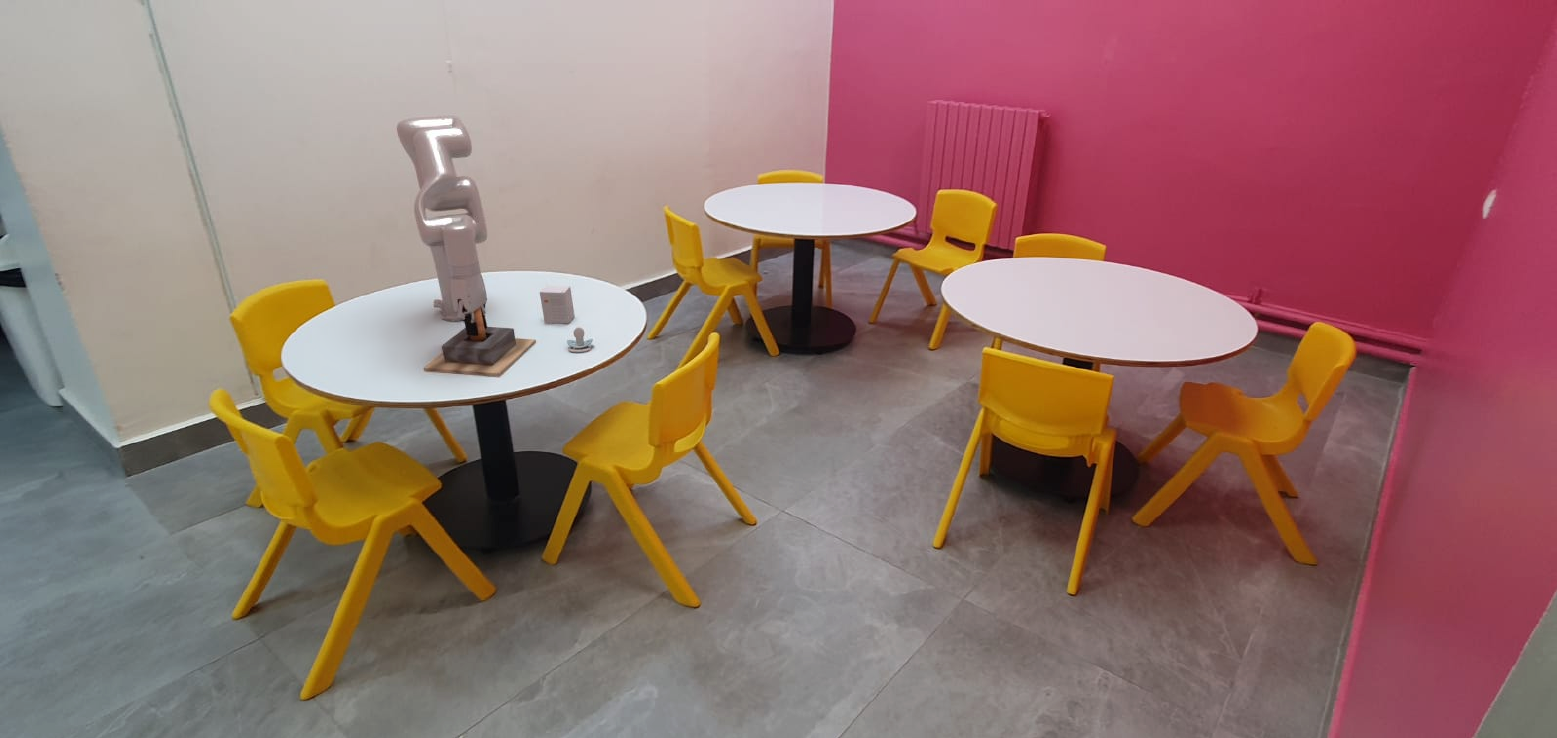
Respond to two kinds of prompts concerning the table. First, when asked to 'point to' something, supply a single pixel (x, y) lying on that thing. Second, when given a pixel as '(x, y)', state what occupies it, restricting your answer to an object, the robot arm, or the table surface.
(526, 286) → the table surface
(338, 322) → the table surface
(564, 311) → the small box
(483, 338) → the peg
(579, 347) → the pacifier
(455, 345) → the socket
